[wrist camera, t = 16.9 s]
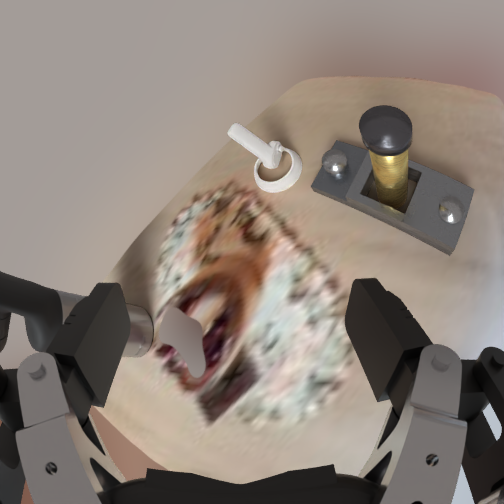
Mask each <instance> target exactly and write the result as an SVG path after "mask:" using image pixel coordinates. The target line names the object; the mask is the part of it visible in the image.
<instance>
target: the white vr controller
mask: <svg viewBox="0 0 504 504" xmlns="http://www.w3.org/2000/svg"><path fill="white" fill-rule="evenodd" d="M228 135H229V136H230V137H231V138H232V139H233V140H235V141H236V142H238V143H239V144H240V145H242V146H243V147H245V148H246V149H247V150H249V151H250V152H252V153H253V154H254V155H256V156H257V157H258V159H257V161H256V163H255V167H254V176H255V181H256V183H257V185H258V186H259V187H260V188H261V189H262V190H264V191H267V192H271V193H274V192H281V191H284V190H286V189H288V188H289V187H291V186H292V185H293V184H294V183H295V182H296V181H297V180H298V178H299V176H300V174H301V171H302V161H301V158H300V157H299V155H298V154H297V153H296V152H294V151H292V150H291V149H288V148H284V147H283V146H281V143H280V142H278V141H271V142H269V143H268V144H267V143H265V142H264V141H263V140H261V139H260V138H258V137H257V136H256V135H254V134H253V133H252V132H250V131H249V130H248V129H246V128H245V127H243V126H241V125H240V124H239V123H234V124H233V125H232V126H231V128H230V129H229V131H228ZM283 151H286V152H288V153H289V154H290V155H291V158H292V166H291V169H290V170H289V172H288V173H287V174H286V175H285V176H284V177H283V178H281V179H279V180H277V181H273V182H267V181H264V180H262V179H261V178H260V177H259V176H258V168H259V166H260V164H261V162H263V165H264V166H265V167H267V168H270V169H274V168H277V167H278V165H279V162H280V159H281V155H282V152H283Z"/></svg>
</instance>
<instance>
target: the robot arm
mask: <svg viewBox="0 0 504 504" xmlns="http://www.w3.org/2000/svg"><path fill="white" fill-rule="evenodd" d="M11 312H12V313H16V314H19V315H21V316H24V318H25V325H26V331H27V336H28V339H29V342H30V344H31V346H32V347H33V348H34V349H35V350H36V351H39V352H40V353H35V354H32V355H30V356H29V357H27V358H26V359H25V360H24V361H23V362H22V363H21V364H20V366H19V368H18V369H6V370H3V369H2V367H1V365H0V420H1V421H2V424H1V426H0V504H21V499H22V494H23V489H24V484H25V480H26V481H27V484H28V487H29V490H30V494H31V496H32V499H33V502H34V504H451V502H452V499H453V496H454V492H455V488H456V484H457V480H458V476H459V472H460V467H461V464H462V467H463V469H464V472H465V475H466V478H467V481H468V484H469V487H470V490H471V493H472V497H473V500H474V503H475V504H504V351H502V350H501V349H498V348H496V347H487V348H485V349H484V350H483V351H482V352H481V354H480V356H479V357H478V359H477V360H460V358H459V356H458V355H457V354H456V353H455V352H454V351H453V350H452V349H450V348H448V347H446V346H444V345H439V344H433V343H432V342H431V340H430V339H429V337H428V336H427V335H426V333H425V332H424V330H423V329H422V328H421V326H420V325H419V323H418V322H417V321H416V319H415V318H413V315H412V314H411V313H410V311H409V310H407V307H406V306H405V305H404V303H403V302H402V301H401V299H400V298H398V297H397V296H395V295H394V294H393V293H391V292H390V291H386V290H385V289H384V287H383V286H382V285H381V283H380V282H379V281H378V280H377V279H376V278H365V279H355V280H354V282H353V284H352V288H351V293H350V297H349V302H348V306H347V310H346V315H345V327H346V331H347V333H348V336H349V338H350V340H351V342H352V344H353V347H354V349H355V351H356V353H357V356H358V358H359V360H360V362H361V365H362V367H363V369H364V372H365V374H366V376H367V378H368V381H369V383H370V386H371V388H372V390H373V393H374V395H375V397H376V400H377V402H380V401H384V400H389V399H390V401H391V403H392V405H391V407H390V409H389V411H388V414H387V417H386V419H385V422H384V425H383V427H382V430H381V433H380V435H379V437H378V440H377V442H376V445H375V447H374V449H373V452H372V454H371V456H370V458H369V459H368V461H367V462H366V464H365V465H364V467H363V469H362V470H361V472H360V474H359V476H358V477H357V476H353V475H346V474H336V472H335V468H334V464H332V465H327V466H321V467H315V468H308V469H301V470H293V471H287V472H284V473H281V474H278V475H275V476H272V477H268V478H265V479H261V480H258V481H254V482H250V483H246V484H234V483H229V482H224V481H220V480H216V479H212V478H208V477H204V476H200V475H197V474H193V473H184V472H173V471H164V470H156V469H149V468H147V474H146V478H140V479H134V480H130V481H126V479H125V478H124V476H123V475H122V473H121V472H120V471H119V469H118V468H117V467H116V465H115V464H114V462H113V461H112V459H111V457H110V455H109V454H108V451H107V450H106V447H105V445H104V443H103V441H102V439H101V437H100V435H99V433H98V430H97V428H96V426H95V424H94V421H93V419H92V417H91V415H90V414H89V410H90V408H91V405H93V406H98V407H103V408H104V406H105V403H106V399H107V396H108V393H109V390H110V387H111V385H112V382H113V379H114V376H115V373H116V370H117V368H118V365H119V362H120V359H121V357H141V356H143V355H144V354H145V353H146V352H147V351H148V350H149V348H150V346H151V343H152V339H153V326H152V321H151V318H150V316H149V314H148V313H147V311H146V310H145V309H143V308H142V307H138V306H133V305H131V304H128V303H125V299H124V296H123V292H122V288H121V286H120V284H118V283H98V284H97V285H96V286H95V287H94V289H93V290H92V292H91V293H90V295H89V296H81V295H77V294H72V293H67V292H63V291H58V290H54V289H50V288H47V287H44V286H41V285H38V284H36V283H34V282H31V281H27V280H24V279H20V278H17V277H14V276H11V275H9V274H5V273H3V272H1V271H0V352H1V351H2V350H3V348H4V346H5V344H6V341H7V337H8V330H9V324H10V317H11ZM489 403H490V404H491V406H492V408H493V410H494V412H495V414H496V416H497V418H498V419H499V421H500V423H501V426H502V433H501V436H500V438H499V439H498V440H497V441H496V439H495V437H494V434H493V433H492V430H491V428H490V426H489V424H488V422H487V420H486V418H485V416H484V414H483V412H482V411H483V410H484V409H485V408H486V406H487V405H488V404H489Z"/></svg>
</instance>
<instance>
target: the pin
mask: <svg viewBox="0 0 504 504" xmlns="http://www.w3.org/2000/svg"><path fill="white" fill-rule="evenodd" d="M359 128H360V132H361V136H362V140H363V143H364V144H365V146H366V147H367V148H368V149H369V153H370V157H371V162H372V167H373V173H374V178H375V184H376V190H377V196H378V200H379V202H380V203H382V204H384V205H386V206H389V207H391V208H393V209H397V208H400V207H401V206H403V205H404V203H405V202H406V200H407V188H408V148H409V147H410V145H411V142H412V123H411V120H410V119H409V117H408V116H407V115H406V114H405V113H404V112H403V111H402V110H400V109H398V108H396V107H392V106H386V105H382V106H376V107H373V108H371V109H369V110H367V111H366V112H365V113H364V114H363V115H362V117H361V119H360V122H359Z"/></svg>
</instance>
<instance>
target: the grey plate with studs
mask: <svg viewBox="0 0 504 504" xmlns="http://www.w3.org/2000/svg"><path fill="white" fill-rule="evenodd" d="M322 164H323V166H322V167H321V169H320V171H319V173H318V175H317V176H316V178H315V180H314V182H313V183H312V185H311V187H312V189H313V191H314V192H317V193H319V194H322V195H324V196H327V197H329V198H331V199H334V200H336V201H338V202H341V203H343V204H345V205H348V206H350V207H352V208H354V209H357V210H359V211H361V212H363V213H365V214H368V215H370V216H372V217H374V218H376V219H378V220H381V221H383V222H385V223H387V224H389V225H391V226H393V227H395V228H397V229H399V230H401V231H403V232H405V233H407V234H409V235H411V236H413V237H415V238H417V239H419V240H421V241H423V242H425V243H427V244H429V245H431V246H433V247H435V248H436V249H438V250H440V251H442V252H444V253H446V254H448V255H449V256H450V255H451V253H452V252H453V251H454V249H455V247H456V244H457V242H458V239H459V236H460V234H461V231H462V228H463V225H464V222H465V219H466V216H467V213H468V210H469V206H470V203H471V200H472V196H473V193H474V189H472V188H470V187H468V186H467V185H465V184H463V183H460V182H458V181H456V180H454V179H452V178H450V177H448V176H446V175H444V174H441V173H439V172H437V171H435V170H432V169H430V168H428V167H426V166H423V165H421V164H418V163H416V162H413V161H411V160H409V159H408V179H410V180H413V181H415V182H417V183H418V184H417V187H416V189H415V192H414V194H413V197H412V199H411V201H410V204H409V206H408V208H407V211H406V213H405V214H404V213H402V212H399V211H397V210H395V209H393V208H391V207H389V206H386V205H384V204H382V203H380V202H377V201H375V200H373V199H370V198H368V197H367V195H368V192H369V190H370V188H371V186H372V184H373V182H374V180H375V178H374V173H373V167H372V162H371V157H370V153H369V150H365V149H362V148H359V147H356V146H353V145H350V144H347V143H344V142H340V141H337V140H336V142H335V144H334V146H333V148H332V149H331V150H329V151H327V152H326V153H325V154H324V155H323V157H322Z"/></svg>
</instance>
